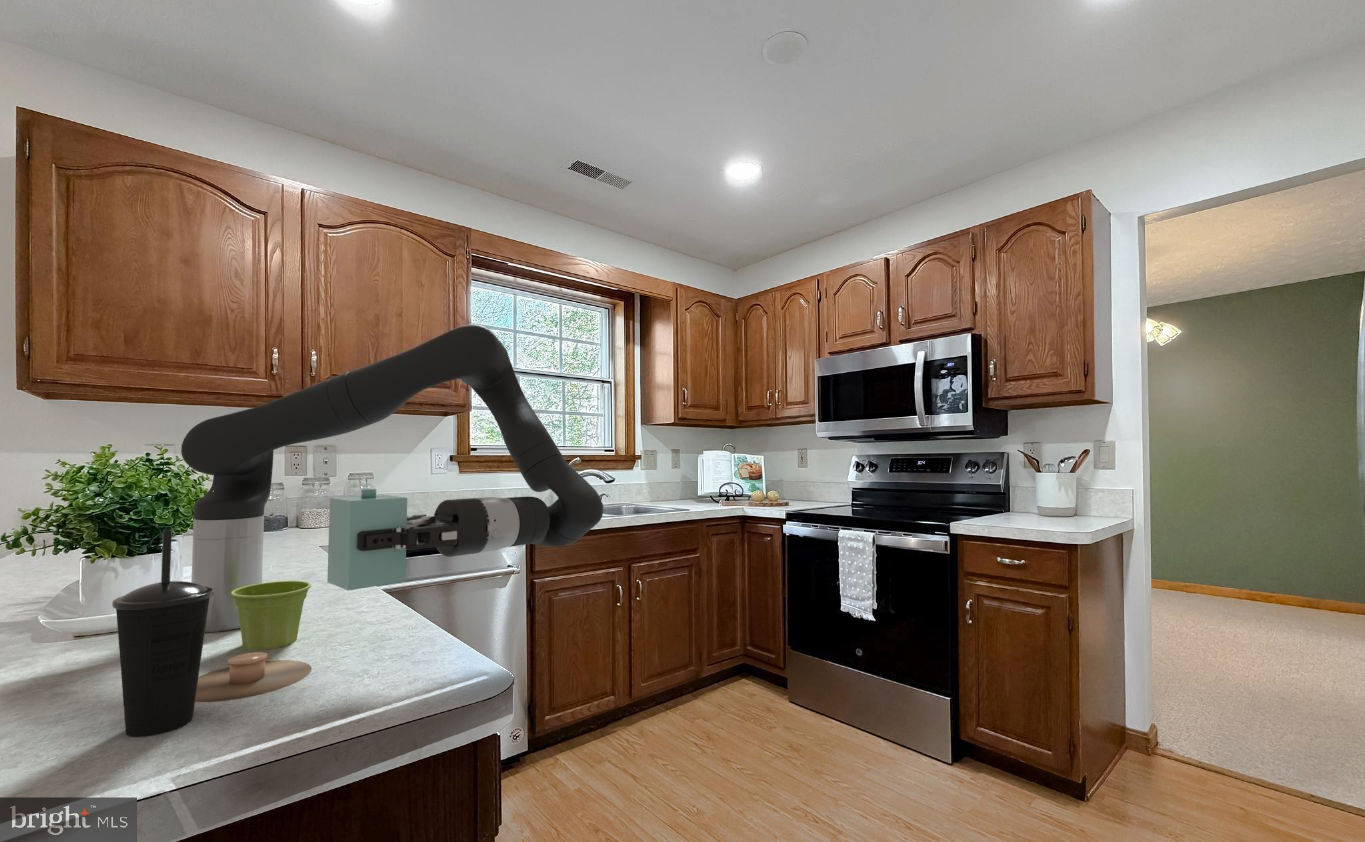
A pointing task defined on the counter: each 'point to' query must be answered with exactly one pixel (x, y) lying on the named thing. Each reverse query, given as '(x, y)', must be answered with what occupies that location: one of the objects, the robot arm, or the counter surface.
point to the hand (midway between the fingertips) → (346, 538)
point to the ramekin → (247, 667)
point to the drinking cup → (161, 650)
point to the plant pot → (270, 613)
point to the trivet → (275, 678)
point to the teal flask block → (344, 525)
